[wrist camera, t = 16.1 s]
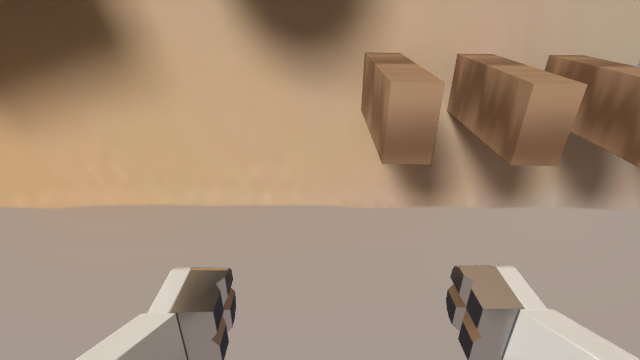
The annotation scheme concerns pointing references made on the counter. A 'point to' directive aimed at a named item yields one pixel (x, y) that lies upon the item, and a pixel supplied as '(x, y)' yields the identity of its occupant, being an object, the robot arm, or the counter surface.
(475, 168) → the counter surface
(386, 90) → the domino
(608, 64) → the domino
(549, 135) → the domino
